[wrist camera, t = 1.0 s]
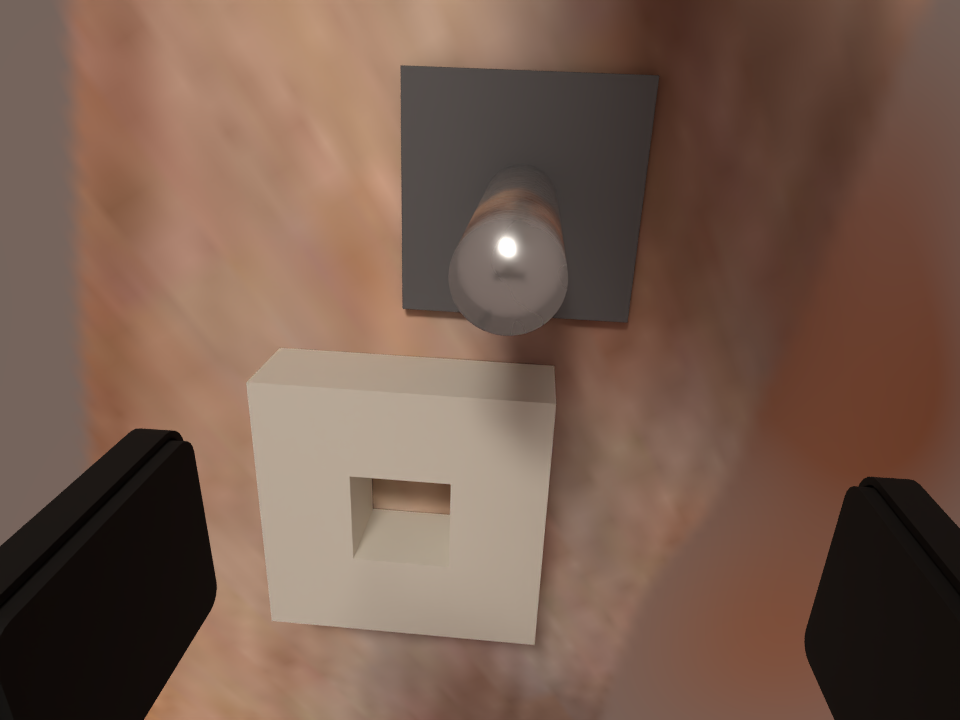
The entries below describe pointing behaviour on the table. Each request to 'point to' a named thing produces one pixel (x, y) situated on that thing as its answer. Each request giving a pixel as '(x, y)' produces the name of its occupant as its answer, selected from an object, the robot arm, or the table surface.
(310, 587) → the hole block
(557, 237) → the peg
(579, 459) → the table surface
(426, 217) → the mat
